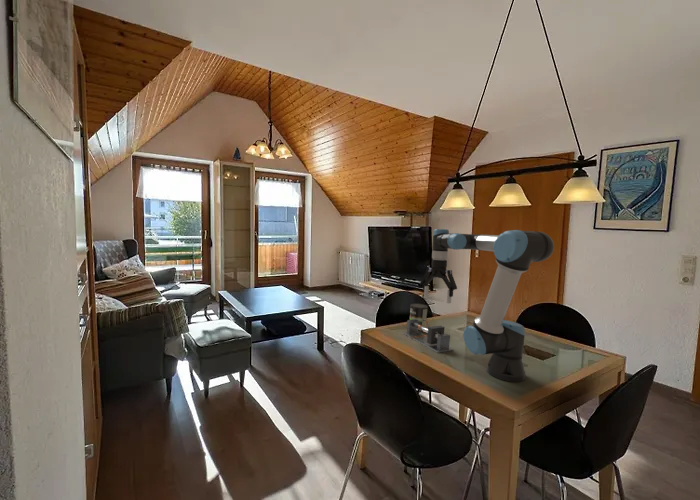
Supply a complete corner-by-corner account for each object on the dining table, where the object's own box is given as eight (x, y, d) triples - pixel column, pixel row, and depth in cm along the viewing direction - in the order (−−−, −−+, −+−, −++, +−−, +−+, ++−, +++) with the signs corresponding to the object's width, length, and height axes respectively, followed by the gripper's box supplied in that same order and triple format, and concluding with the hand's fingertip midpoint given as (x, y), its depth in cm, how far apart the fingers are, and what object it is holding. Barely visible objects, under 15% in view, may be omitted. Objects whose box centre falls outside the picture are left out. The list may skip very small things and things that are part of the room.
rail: (453, 350, 171) (454, 335, 171) (437, 352, 167) (438, 337, 166) (416, 331, 198) (417, 318, 197) (402, 333, 194) (403, 320, 193)
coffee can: (413, 331, 199) (415, 307, 198) (406, 325, 209) (407, 303, 208) (429, 330, 202) (430, 307, 201) (420, 325, 212) (422, 303, 211)
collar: (443, 342, 177) (444, 327, 176) (430, 344, 173) (431, 328, 172) (439, 340, 179) (440, 325, 178) (426, 342, 176) (428, 326, 175)
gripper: (465, 261, 165) (463, 304, 166) (423, 257, 183) (421, 295, 184) (457, 261, 160) (455, 306, 161) (415, 257, 178) (413, 297, 179)
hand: (437, 300), depth 172 cm, fingers open, 13 cm apart
